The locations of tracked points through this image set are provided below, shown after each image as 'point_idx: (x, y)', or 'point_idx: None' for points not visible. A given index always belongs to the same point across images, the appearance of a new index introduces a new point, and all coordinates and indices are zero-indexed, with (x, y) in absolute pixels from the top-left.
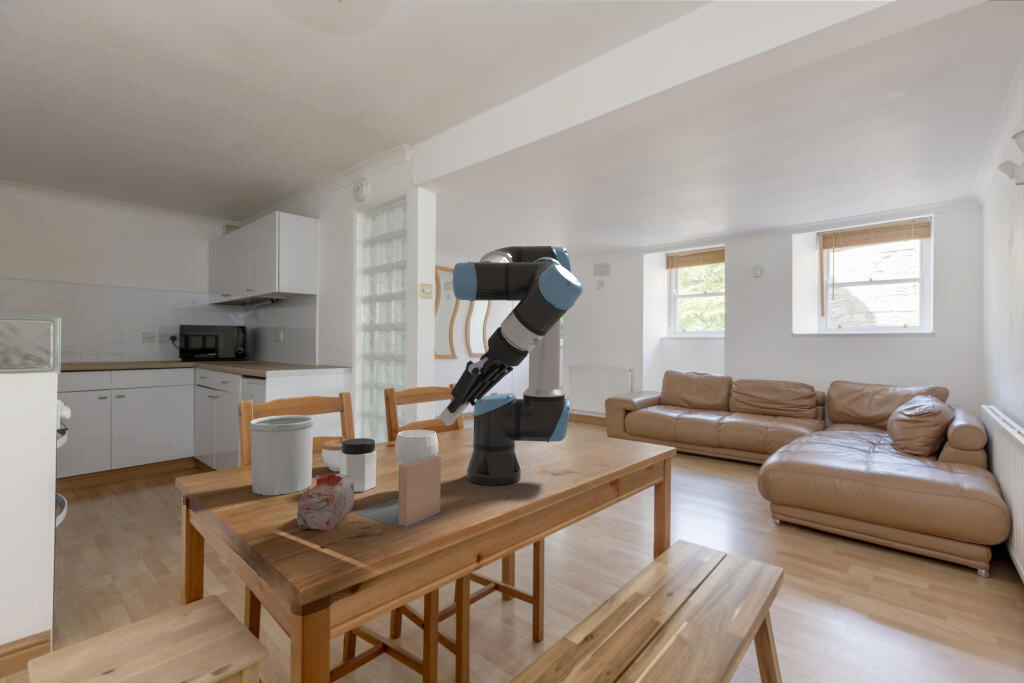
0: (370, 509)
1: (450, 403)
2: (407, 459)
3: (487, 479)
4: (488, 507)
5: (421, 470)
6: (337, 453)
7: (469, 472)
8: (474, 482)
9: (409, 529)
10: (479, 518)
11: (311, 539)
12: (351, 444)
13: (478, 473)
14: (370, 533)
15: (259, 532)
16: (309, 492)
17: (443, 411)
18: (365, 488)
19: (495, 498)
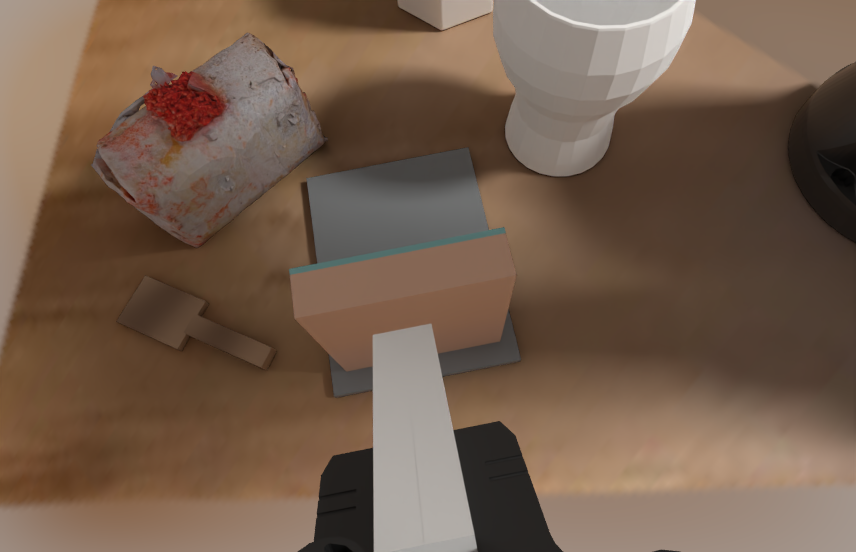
0: (355, 180)
1: (317, 517)
2: (509, 72)
3: (836, 208)
4: (680, 402)
5: (389, 311)
6: None
7: (807, 121)
8: (793, 169)
9: (339, 395)
10: (585, 464)
11: (142, 254)
12: None
13: (827, 160)
14: (233, 353)
15: (94, 134)
16: (100, 150)
17: (375, 371)
18: (444, 23)
19: (762, 347)
